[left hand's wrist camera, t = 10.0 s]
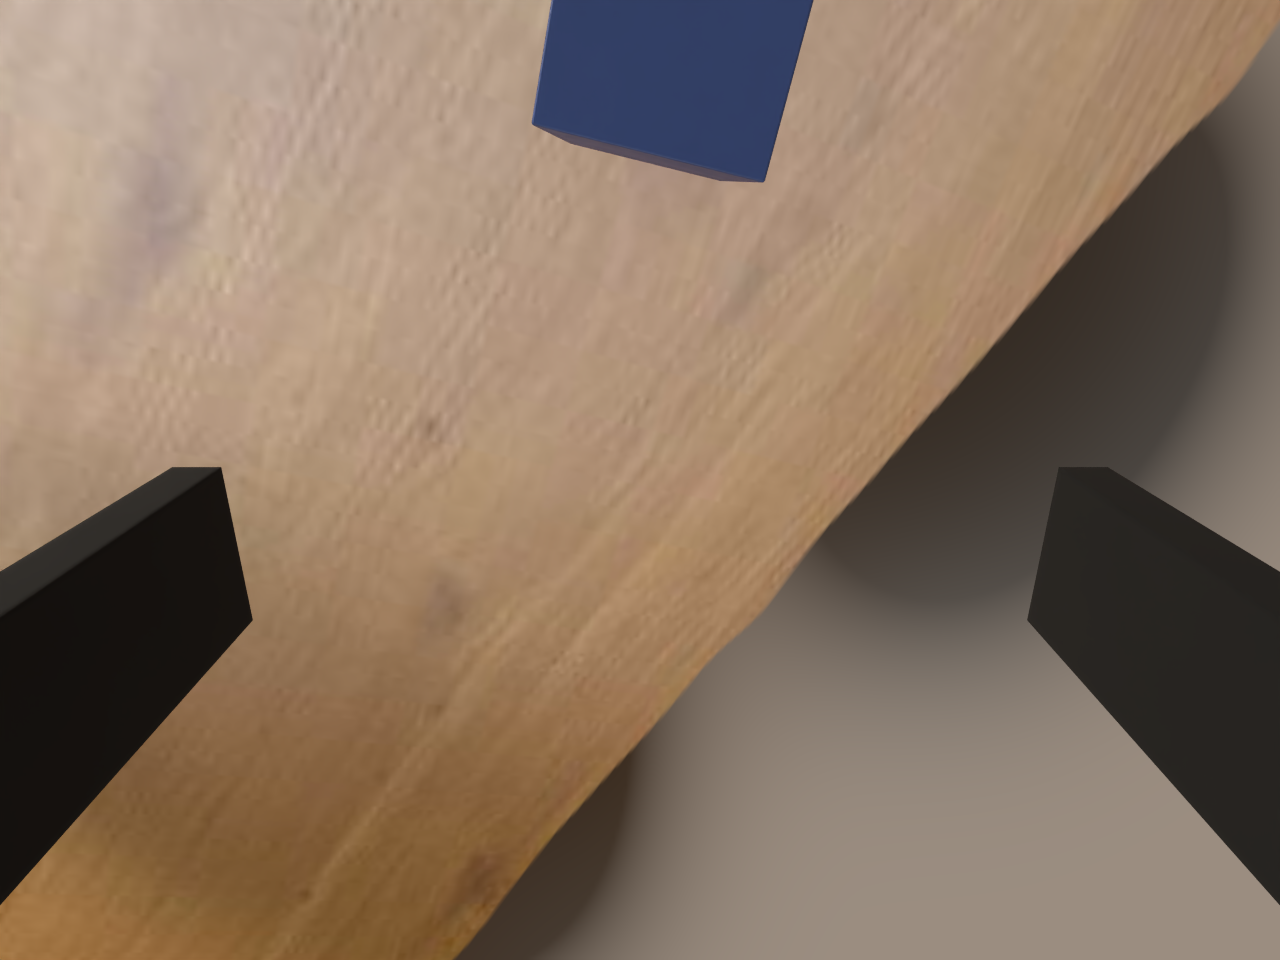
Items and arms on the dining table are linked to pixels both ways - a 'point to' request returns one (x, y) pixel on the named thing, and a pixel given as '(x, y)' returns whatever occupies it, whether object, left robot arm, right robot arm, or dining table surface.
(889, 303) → the dining table surface
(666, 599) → the dining table surface
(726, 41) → the bar
